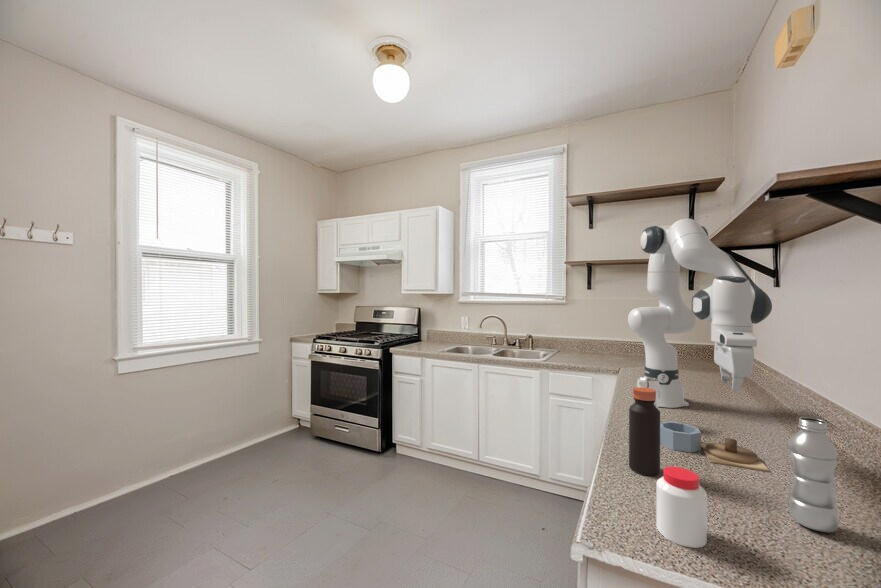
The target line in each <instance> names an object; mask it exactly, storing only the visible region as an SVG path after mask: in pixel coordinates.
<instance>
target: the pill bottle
mask: <svg viewBox="0 0 881 588" xmlns="http://www.w3.org/2000/svg"><path fill="white" fill-rule="evenodd" d="M662 470H663V475H662V476H661V477H659V478H658V479H657V480H656V483H655V484H656V485H655V486H656V489H655V490H656V493H655V494H656V496H655V497H656V499H655V501H656V503H655V504H656V507H655V510H656V511H655V513H656V514H655V517H656V519H655V520H656V521H655V523H656V525H655V526H656V527H657V528H656V530H657V529H658V530H657V532H658V531H659V532H660V533H661V534H662V535H663V536H664V537H663V536H662V535H661V534H660V533H659V532H658V533H659V534H660V535H661V536H662V537H663V538H664V539H666V540H668V541H670V542H672V543H674V544H675V545H679V546H683V547H686V548H692V549H697V548H699V549H700V548H703V547H705V546H706V545H707V543H708V494H707V493H708V492H707V491H706V490H705V489H704V488H703V486H701V485H700V476H699V475H698V474H697V473H696V472H694V471H692V470H689V469H687V468H684V467H681V466H672V465H671V466H665V467H664V468H663V469H662Z"/></svg>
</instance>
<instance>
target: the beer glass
mask: <svg viewBox="0 0 881 588" xmlns="http://www.w3.org/2000/svg"><path fill="white" fill-rule="evenodd" d="M636 379H637V381H636V387H644V388H650V389H653V390H655V391H656V400H655V401H656V402H654V405H655V407H656V408H657V409H658V410H659V406H658V404H659V399H660V385H659V380H658V379H656V378H650V377H645V376H638V377H637V378H636Z"/></svg>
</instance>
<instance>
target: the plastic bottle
mask: <svg viewBox="0 0 881 588" xmlns="http://www.w3.org/2000/svg"><path fill="white" fill-rule="evenodd" d="M797 428H799V429H800V430H798V431H797V432H796V433H794V434H793V435H792V436H791V437H790V438H789V441H788V443H787V444H788V451H789V456H790V462H791V468H792V485H791V494H790V497H789V502H788V509H789V514H790V515H791V517H792V518H793V520H794V521H796V522H797V524H799V525H801V526H804V527H805V528H808V529H810V530H814V531H817V532H820V533H821V532H822V533H826V534H827V533H834V532H835V531H837V530H838V528H839V524H840V517H839V511H838V508H837V506H836V498H835V491H834V487H835V486H834V484H835V483H834V482H835V472H836V468H837V467H836V466H837V462H838V454H839V453H838V450H837V448H836V447H835V445H834V444H833V442H832V441H831V440H830V439H829V438H828V436H826V434H828V423H827V421H825V420H822V419H820V418H819V419H818V418H814V417H806V416H800V417H799V419H798V425H797Z"/></svg>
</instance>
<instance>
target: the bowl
mask: <svg viewBox="0 0 881 588" xmlns="http://www.w3.org/2000/svg"><path fill="white" fill-rule="evenodd" d="M701 442H702V433H701V430H700V429H699V427H697V426H694V425H690V424H687V423H683V422H675V421H663V422H661V421H660V446H661V445H662V446H663V447H665V448H668V449H670V450H672V451H679V452H685V453H694V452H699V451H701V450H702V448H701Z"/></svg>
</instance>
